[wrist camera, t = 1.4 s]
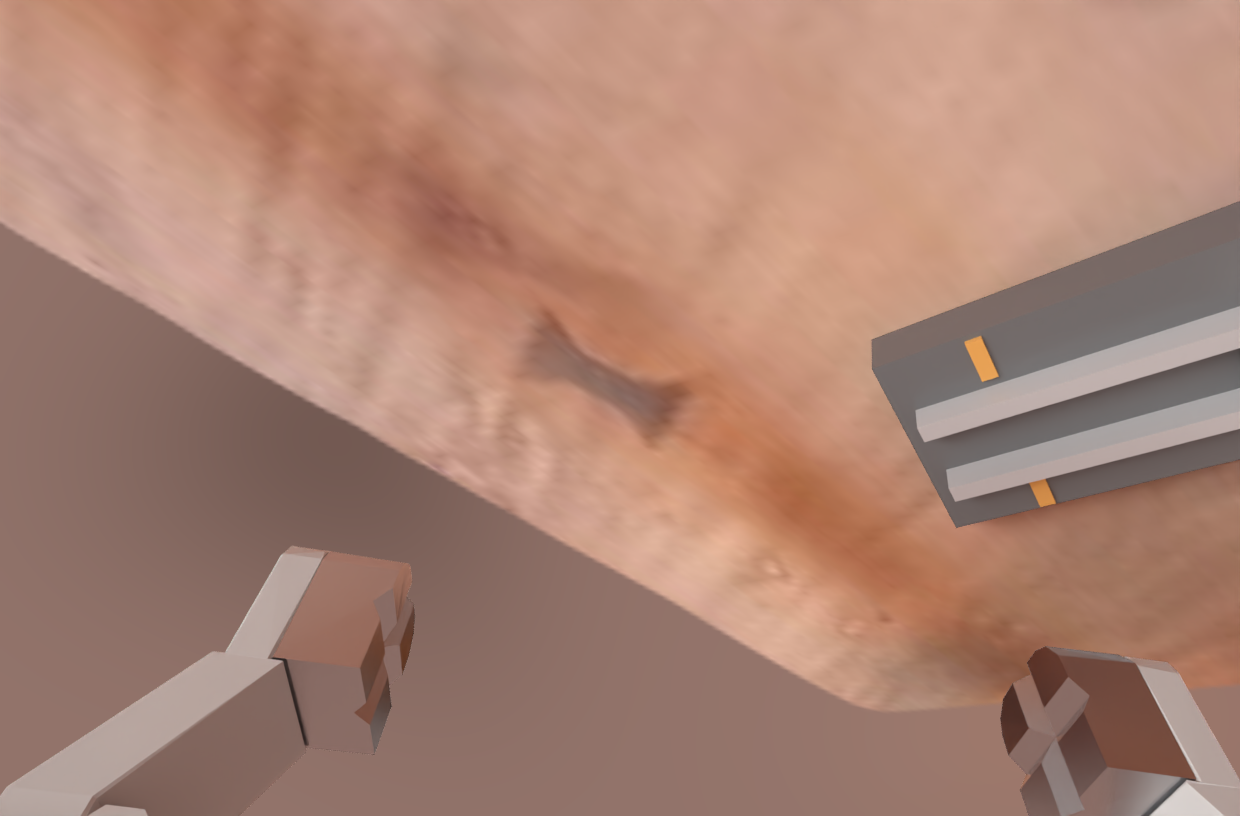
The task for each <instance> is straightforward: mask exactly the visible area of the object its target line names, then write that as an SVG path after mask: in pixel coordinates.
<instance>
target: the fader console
mask: <svg viewBox="0 0 1240 816" xmlns="http://www.w3.org/2000/svg"><path fill="white" fill-rule="evenodd" d="M872 370H873V372H874V374H875V376H876V377H877V379H878V381H879V383H880V385H881V387H882V389H883V391H884V393H885V394H886V396H887V398H888V400H889V402H890V404H891V406H892V408H893V409H894V411H895V413H896V415H897V417H898V419H899V421H900V423H901V425H902V426H903V428H904V430H905V432H906V434H907V436H908V438H909V440H910V441H911V443H912V445H913V447H914V449H915V451H916V453H917V455H918V457H919V458H920V460H921V462H922V464H923V466H924V468H925V470H926V472H927V473H928V475H929V477H930V479H931V481H932V483H933V485H934V487H935V489H936V490H937V492H938V494H939V496H940V498H941V500H942V502H943V504H944V506H945V507H946V509H947V511H948V513H949V515H950V517H951V519H952V521H953V522H954V524H955V526H956V528H958V527H962V526H966V525H970V524H974V523H978V522H982V521H987V520H991V519H995V518H999V517H1003V516H1007V515H1012V514H1016V513H1020V512H1024V511H1028V510H1032V509H1036V508H1041V507H1045V506H1049V505H1053V504H1057V503H1061V502H1066V501H1070V500H1074V499H1078V498H1082V497H1086V496H1090V495H1095V494H1099V493H1103V492H1107V491H1111V490H1115V489H1119V488H1124V487H1128V486H1132V485H1136V484H1140V483H1144V482H1149V481H1153V480H1157V479H1161V478H1165V477H1169V476H1173V475H1178V474H1182V473H1186V472H1190V471H1194V470H1198V469H1203V468H1207V467H1211V466H1215V465H1219V464H1223V463H1227V462H1232V461H1236V460H1240V202H1237V203H1234V204H1232V205H1229V206H1226V207H1224V208H1221V209H1218V210H1216V211H1213V212H1210V213H1208V214H1205V215H1202V216H1200V217H1197V218H1194V219H1192V220H1189V221H1186V222H1184V223H1181V224H1178V225H1176V226H1173V227H1170V228H1168V229H1165V230H1162V231H1160V232H1157V233H1154V234H1152V235H1149V236H1147V237H1144V238H1141V239H1139V240H1136V241H1133V242H1131V243H1128V244H1125V245H1123V246H1120V247H1117V248H1115V249H1112V250H1109V251H1107V252H1104V253H1101V254H1099V255H1096V256H1093V257H1091V258H1088V259H1085V260H1083V261H1080V262H1077V263H1075V264H1072V265H1069V266H1067V267H1064V268H1061V269H1059V270H1056V271H1053V272H1051V273H1048V274H1045V275H1043V276H1040V277H1037V278H1035V279H1032V280H1029V281H1027V282H1024V283H1021V284H1019V285H1016V286H1013V287H1011V288H1008V289H1006V290H1003V291H1000V292H998V293H995V294H992V295H990V296H987V297H984V298H982V299H979V300H976V301H974V302H971V303H968V304H966V305H963V306H960V307H958V308H955V309H952V310H950V311H947V312H944V313H942V314H939V315H936V316H934V317H931V318H928V319H926V320H923V321H920V322H918V323H915V324H912V325H910V326H907V327H904V328H902V329H899V330H896V331H894V332H891V333H888V334H886V335H883V336H880V337H878V338H875V339H872Z"/></svg>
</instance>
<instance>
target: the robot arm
mask: <svg viewBox="0 0 1240 816" xmlns="http://www.w3.org/2000/svg"><path fill="white" fill-rule="evenodd" d="M411 583H412V577H411V569H410V565H409V564H406V563H401V562H395V561H388V560H382V559H376V558H370V557H363V556H357V555H351V554H344V553H338V552H332V551H323V550H317V549H310V548H303V547H296V546H291V547H290V548H289V549H288V550H287V551H286V552H284V553H283V554H282V555H281V556H280V558H279V560H278V561H277V563H276V565H275V567H274V568H273V570H272V572H271V573H270V575H269V577H268V579H267V580H266V582H265V584H264V586H263V587H262V589H261V591H260V593H259V594H258V596H257V598H256V600H255V601H254V603H253V605H252V606H251V608H250V610H249V612H248V613H247V615H246V617H245V619H244V621H243V622H242V624H241V626H240V627H239V629H238V631H237V633H236V634H235V636H234V638H233V640H232V641H231V643H230V645H229V646H228V648H227V650H226V652H216V651H213V652H211V653H210V654H208V655H206V656H205V657H203V658H202V659H201V660H199V661H197V662H196V663H194V664H193V665H191V666H190V667H188V668H187V669H185V670H184V671H182V672H181V673H179V674H178V675H176V676H175V677H173V678H172V679H170V680H168V681H167V682H165V683H164V684H162V685H161V686H159V687H158V688H156V689H155V690H153V691H152V692H150V693H149V694H147V695H146V696H144V697H143V698H141V699H140V700H138V701H137V702H135V703H134V704H132V705H131V706H129V707H128V708H126V709H124V710H123V711H121V712H120V713H118V714H117V715H115V716H114V717H112V718H111V719H109V720H108V721H106V722H105V723H103V724H102V725H100V726H99V727H97V728H95V729H94V730H92V731H91V732H90V733H88V734H86V735H85V736H83V737H82V738H80V739H79V740H77V741H76V742H74V743H73V744H71V745H70V746H68V747H67V748H65V749H64V750H62V751H61V752H59V753H57V754H56V755H55V756H53V757H51V758H50V759H48V760H47V761H45V762H44V763H42V764H41V765H39V766H38V767H36V768H35V769H33V770H32V771H30V772H29V773H27V774H26V775H24V776H23V777H21V778H19V779H18V780H16V781H15V782H13V783H12V784H10V785H9V786H7V787H6V789H5V790H4V792H3V793H2V794H1V796H0V816H240V815H241V814H242V813H243V812H244V811H245V810H246V809H247V808H248V807H249V806H250V805H251V804H252V803H253V802H254V801H255V800H256V799H257V798H259V797H260V796H261V795H262V794H263V793H264V792H265V791H266V790H267V789H268V788H269V787H270V786H271V785H272V784H273V783H274V782H275V781H276V780H277V779H279V778H280V777H281V776H282V775H283V774H284V773H285V772H286V771H287V770H288V769H289V768H290V767H291V766H292V765H293V764H294V763H295V762H296V761H297V760H299V759H300V758H301V757H302V756H303V755H304V754H305V753H306V748H315V749H325V750H333V751H343V752H352V753H362V754H372V755H374V754H375V751H376V749H377V746H378V743H379V740H380V737H381V735H382V732H383V729H384V726H385V723H386V721H387V718H388V715H389V712H390V709H391V707H392V706H391V697H390V688H389V685H391V684H392V683H393V682H394V681H396V680H397V679H398V678H399V677H401V676H402V675H403V672H404V669H405V666H406V663H407V660H408V657H409V653H410V649H411V644H412V639H413V634H414V624H415V609H414V603H413V602H412V601H411V600H410V599H409V598H408V597H407V594H408V591H409V589H410V586H411ZM1027 664H1028V667H1029V669H1030V672H1031V675H1029V676H1027V677H1025V678H1023V679H1020V680H1018V681H1016V682H1014V683H1012V685H1011V687H1010V688H1009V690H1008V692H1007V693H1006V695H1005V697H1004V698H1003V704H1002V711H1001V718H1000V719H1001V728H1002V736H1003V739H1004V743H1005V746H1006V749H1007V752H1008V755H1009V756H1010V757H1011V759H1013V760H1014V762H1016V764H1017V765H1018V766H1019V767H1020V768H1021V769H1022V770H1023V771H1024V772H1025V773H1026V776H1025V778H1024V781H1023V783H1022V786H1021V788H1020V792H1021V794H1022V797H1023V800H1024V803H1025V806H1026V809H1027V812H1028V815H1029V816H1240V780H1239V778H1238V776H1237V775H1236V773H1235V771H1234V769H1233V767H1232V766H1231V764H1230V762H1229V760H1228V759H1227V757H1226V755H1225V754H1224V752H1223V750H1222V748H1221V746H1220V745H1219V743H1218V741H1217V740H1216V738H1215V736H1214V734H1213V732H1212V731H1211V729H1210V727H1209V725H1208V724H1207V722H1206V720H1205V718H1204V717H1203V715H1202V713H1201V711H1200V710H1199V708H1198V706H1197V704H1196V703H1195V701H1194V699H1193V698H1192V696H1191V694H1190V692H1189V690H1188V688H1187V687H1186V685H1185V683H1184V681H1183V680H1182V678H1181V676H1180V674H1179V673H1178V672H1177V670H1176V669H1174V668H1173V667H1172V666H1171V665H1170V664H1169V663H1168V662H1162V661H1155V660H1147V659H1140V658H1132V657H1122V656H1120V655H1115V654H1107V653H1098V652H1090V651H1081V650H1073V649H1064V648H1056V647H1048V646H1045V647H1043V648H1041V649H1038V650H1036V651H1035V652H1034V654H1033V655H1032V656H1031V658H1030V659H1029V660H1028V662H1027Z"/></svg>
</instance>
